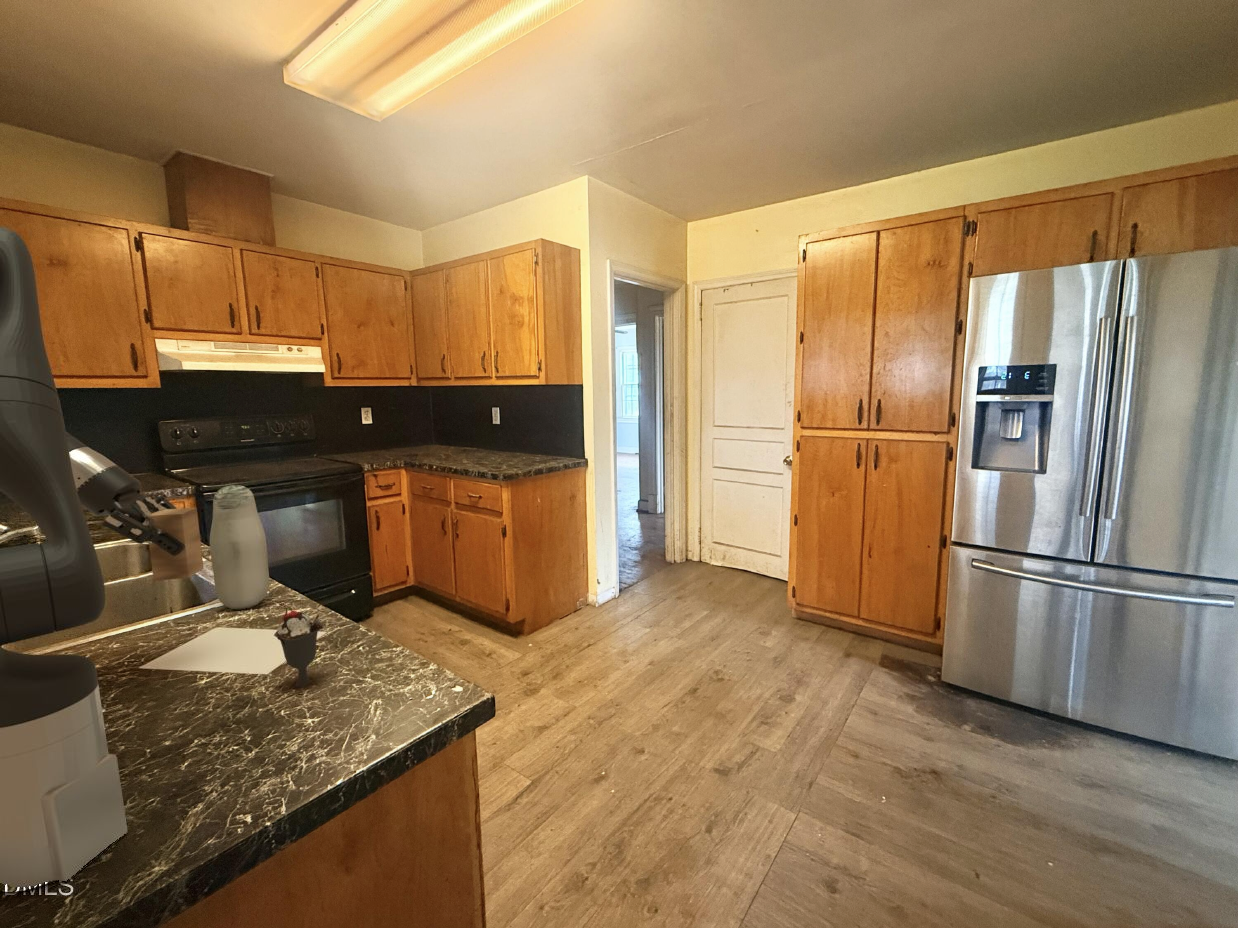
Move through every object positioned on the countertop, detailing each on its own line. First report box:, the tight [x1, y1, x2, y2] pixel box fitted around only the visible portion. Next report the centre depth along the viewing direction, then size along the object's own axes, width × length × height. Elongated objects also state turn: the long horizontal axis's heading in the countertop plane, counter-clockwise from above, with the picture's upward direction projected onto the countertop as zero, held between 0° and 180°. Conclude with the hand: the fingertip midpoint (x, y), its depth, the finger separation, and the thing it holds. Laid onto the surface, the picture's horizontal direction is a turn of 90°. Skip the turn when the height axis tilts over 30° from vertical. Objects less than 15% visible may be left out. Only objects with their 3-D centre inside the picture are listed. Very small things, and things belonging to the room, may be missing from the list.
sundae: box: [274, 602, 324, 697], centre depth 86 cm, size 7×7×15 cm
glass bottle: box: [209, 484, 270, 611], centre depth 118 cm, size 10×10×28 cm
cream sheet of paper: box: [138, 626, 328, 675], centre depth 98 cm, size 24×16×1 cm, turn 85°
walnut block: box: [148, 507, 204, 582], centre depth 90 cm, size 5×5×11 cm
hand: (189, 546), depth 90 cm, fingers closed on walnut block, 5 cm apart
